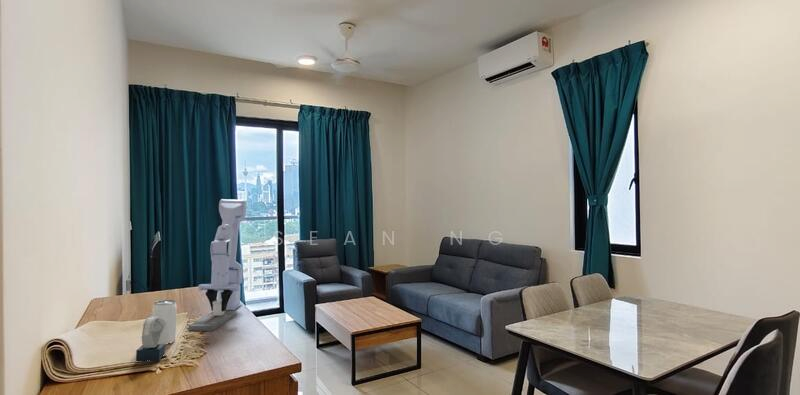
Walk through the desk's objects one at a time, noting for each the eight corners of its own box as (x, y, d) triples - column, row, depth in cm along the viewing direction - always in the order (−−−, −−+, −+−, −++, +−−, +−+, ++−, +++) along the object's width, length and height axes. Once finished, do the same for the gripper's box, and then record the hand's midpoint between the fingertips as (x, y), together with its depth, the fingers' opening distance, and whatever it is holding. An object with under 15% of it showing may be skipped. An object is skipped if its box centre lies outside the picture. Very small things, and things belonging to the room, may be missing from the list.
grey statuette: (167, 352, 115) (168, 313, 115) (156, 363, 107) (158, 321, 107) (144, 353, 113) (146, 313, 114) (132, 364, 106) (134, 321, 106)
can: (180, 339, 126) (181, 300, 126) (166, 346, 120) (167, 305, 120) (160, 338, 127) (162, 299, 127) (145, 345, 120) (147, 304, 120)
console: (212, 315, 153) (213, 311, 153) (234, 316, 153) (234, 312, 153) (188, 330, 135) (188, 325, 135) (212, 330, 135) (212, 326, 135)
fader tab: (216, 312, 151) (217, 299, 151) (225, 313, 151) (225, 299, 151) (211, 315, 147) (212, 301, 147) (220, 315, 147) (220, 301, 147)
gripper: (194, 274, 145) (193, 312, 145) (235, 275, 145) (234, 313, 145) (204, 271, 152) (202, 307, 152) (243, 272, 152) (241, 308, 152)
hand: (218, 310), depth 149 cm, fingers closed on fader tab, 3 cm apart
